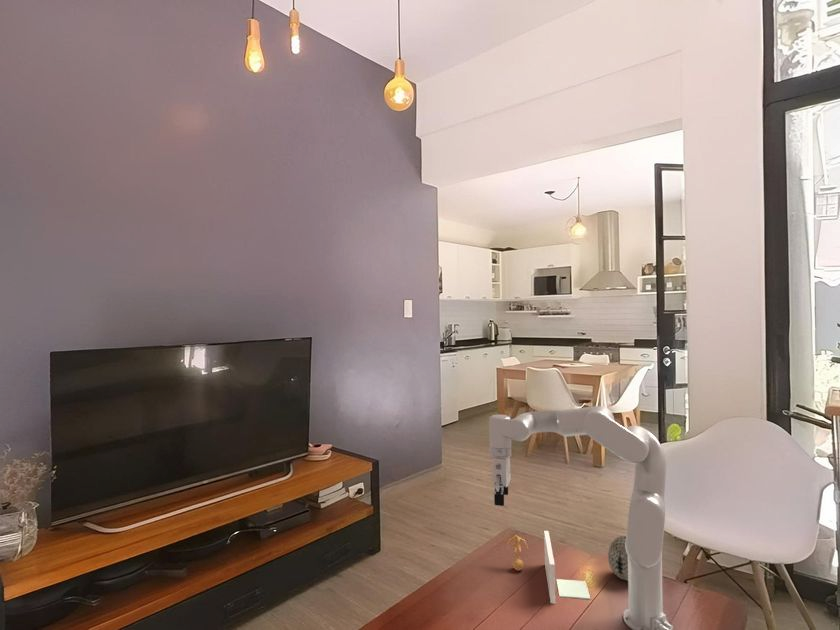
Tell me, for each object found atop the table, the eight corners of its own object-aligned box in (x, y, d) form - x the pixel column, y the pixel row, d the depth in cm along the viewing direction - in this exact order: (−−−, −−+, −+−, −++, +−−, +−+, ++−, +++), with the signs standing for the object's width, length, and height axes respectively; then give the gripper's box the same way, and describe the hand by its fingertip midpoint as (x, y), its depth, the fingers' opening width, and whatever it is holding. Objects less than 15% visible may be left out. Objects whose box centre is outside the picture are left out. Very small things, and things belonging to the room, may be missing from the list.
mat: (590, 599, 158) (590, 598, 158) (559, 596, 160) (559, 595, 160) (585, 582, 168) (585, 581, 168) (556, 580, 170) (556, 579, 170)
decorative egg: (648, 577, 170) (648, 536, 170) (637, 592, 162) (636, 548, 162) (615, 566, 178) (615, 526, 178) (603, 579, 170) (602, 537, 170)
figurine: (507, 572, 176) (507, 540, 175) (505, 564, 182) (504, 532, 181) (530, 572, 175) (529, 540, 175) (527, 564, 181) (526, 532, 181)
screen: (555, 603, 157) (554, 564, 156) (550, 603, 157) (549, 564, 157) (549, 565, 180) (548, 530, 180) (544, 564, 181) (544, 530, 180)
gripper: (507, 459, 156) (508, 511, 157) (514, 444, 173) (515, 491, 173) (485, 457, 159) (486, 508, 159) (494, 443, 175) (495, 489, 175)
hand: (501, 499), depth 166 cm, fingers open, 9 cm apart
